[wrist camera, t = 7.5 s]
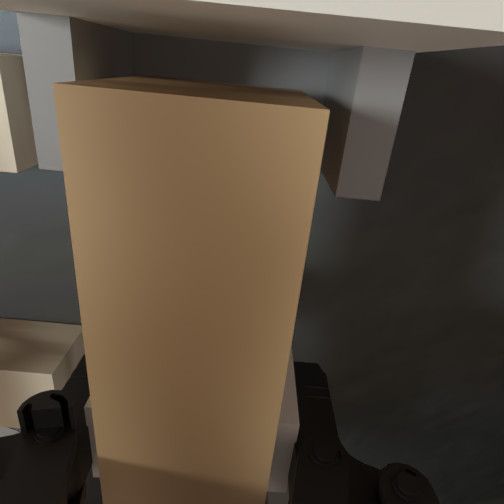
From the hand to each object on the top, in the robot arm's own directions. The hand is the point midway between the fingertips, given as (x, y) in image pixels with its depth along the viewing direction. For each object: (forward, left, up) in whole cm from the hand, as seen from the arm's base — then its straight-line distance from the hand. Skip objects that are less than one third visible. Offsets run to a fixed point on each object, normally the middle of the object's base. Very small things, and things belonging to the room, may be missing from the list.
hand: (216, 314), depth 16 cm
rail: (0, 0, +3) cm, 3 cm away
